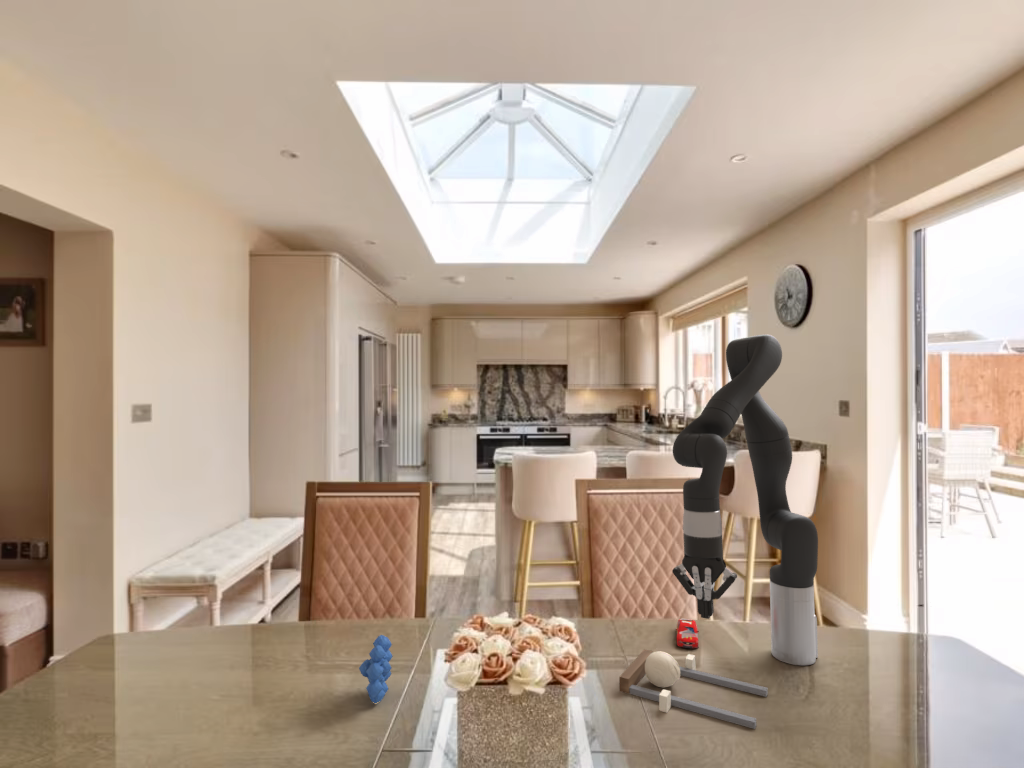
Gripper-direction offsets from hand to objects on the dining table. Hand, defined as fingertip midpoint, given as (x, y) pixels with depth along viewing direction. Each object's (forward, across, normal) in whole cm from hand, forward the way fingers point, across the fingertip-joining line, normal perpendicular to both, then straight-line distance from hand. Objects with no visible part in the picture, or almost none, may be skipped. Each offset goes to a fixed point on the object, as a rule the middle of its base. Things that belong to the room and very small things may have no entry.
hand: (705, 616), depth 115 cm
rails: (+16, +2, 0) cm, 16 cm away
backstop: (+16, +15, 0) cm, 22 cm away
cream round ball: (+16, +9, 0) cm, 19 cm away
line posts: (+16, +6, 0) cm, 17 cm away
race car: (+17, +11, -25) cm, 32 cm away
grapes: (+15, +58, +35) cm, 69 cm away
